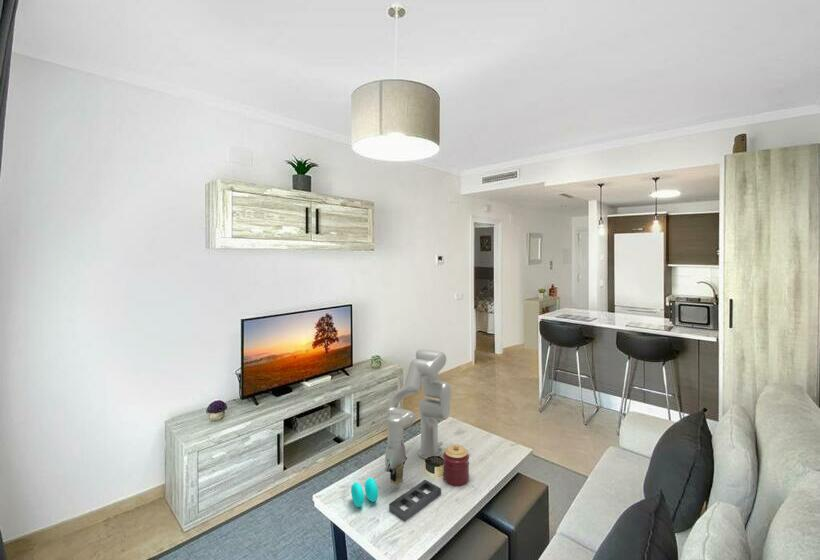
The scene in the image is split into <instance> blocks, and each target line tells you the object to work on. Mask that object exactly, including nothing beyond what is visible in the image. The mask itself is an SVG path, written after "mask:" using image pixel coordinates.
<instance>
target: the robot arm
mask: <svg viewBox="0 0 820 560" xmlns="http://www.w3.org/2000/svg"><path fill="white" fill-rule="evenodd" d="M446 363H447V355H446V354H445V353H444V352H443V351H438V350H431V349H424V348H423V349H418V350H416V352H415V359H412V360H411V361H410V363H409V366H408V369H407V373H406V376H405V377H406V378H405V380H404V384H403V386H402V387H401V388H400V389H398V391H397V392H395V394H393V396H392V397H391V399H390V401H389V404H388V408H387V411H386V428H387V429H386V430H387V432H386V433H387V445H386V448H385V455H384V465H385V468H384V471H386V472H388V473H389V475H390V476H389V477H390V481H391V480H393V481H394V482H395V481H396V474H395V467H397V466H398V465H400V464H402V476H403V477H404V475H403V474H404V470H403V469H404V465H405V463H406V461H407V460H408V457H407V450H406V445H405V442H404V438H405V436H404V430H406V429H407V428H409V427H411V426H412V425H413V424H414V423H415V422H416V414H415V412H413V411H411V410H409V409H404V408H401V407H398V406H399V404H400V402H401V401H402V400H403V399H406V397H408V396H413V395H416V394H418V393H420V390H421V386H422V394H423V395H424V396H426V398H422V399H420V401H419V403H418V412H419V417H420V448H419V449H418V452H417V454H418V456H419V457H420V458H422V459H424V460H426V459H425V458H427V457H430V456H439V457H440V456H441V450H440V447H442V446H443V444H444V443H443V442H442V441H440V442H439V439H438V438H439V436H438V435H439V433H438V432H439V427H438V425H439V423H438V420H442V421H444V420H448V418H449V417H450V414H451V399H452V397H451V396H452V395H451V394H452V392H451V391H452V390H451V385H450V384H449V383H448V382H446V381H443V380H439V372H441V370H442V369H443V368H444V367H445V365H446ZM428 397H429V398H428ZM433 398H434V399H433ZM392 469H393V470H392Z"/></svg>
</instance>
